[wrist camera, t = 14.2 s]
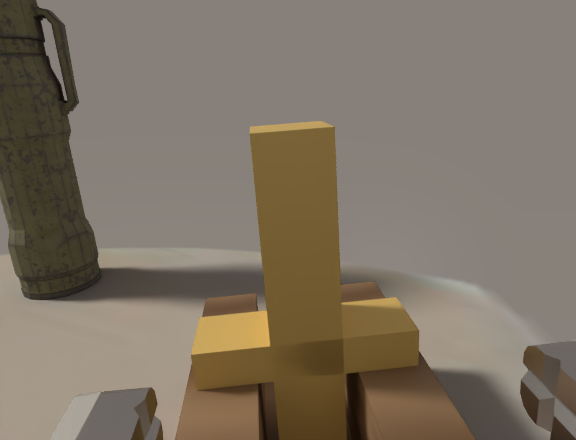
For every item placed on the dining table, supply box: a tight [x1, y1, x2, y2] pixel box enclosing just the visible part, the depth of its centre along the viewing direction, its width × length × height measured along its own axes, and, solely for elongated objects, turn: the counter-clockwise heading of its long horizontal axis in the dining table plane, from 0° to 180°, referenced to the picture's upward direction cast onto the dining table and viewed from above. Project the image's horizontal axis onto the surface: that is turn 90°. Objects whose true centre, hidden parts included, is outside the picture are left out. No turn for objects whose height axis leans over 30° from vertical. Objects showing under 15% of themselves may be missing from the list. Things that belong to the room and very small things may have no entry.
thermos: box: [0, 0, 101, 300], centre depth 47 cm, size 9×12×35 cm
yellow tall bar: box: [191, 121, 419, 440], centre depth 22 cm, size 4×11×17 cm, turn 95°
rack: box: [175, 281, 476, 440], centre depth 24 cm, size 18×16×7 cm
